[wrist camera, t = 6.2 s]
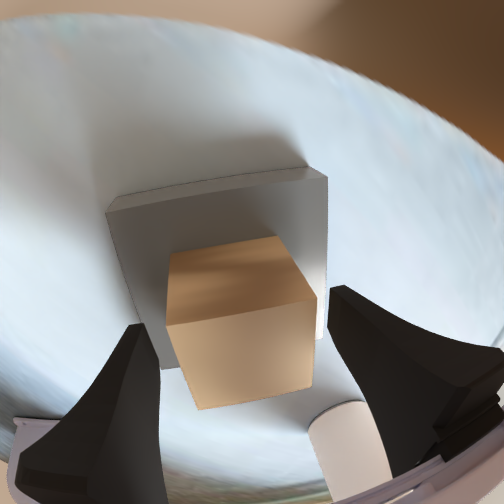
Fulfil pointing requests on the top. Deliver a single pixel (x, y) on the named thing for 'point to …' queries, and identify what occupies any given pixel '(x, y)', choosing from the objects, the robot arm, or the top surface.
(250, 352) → the oak block
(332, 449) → the can
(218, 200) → the slate base
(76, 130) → the top surface
